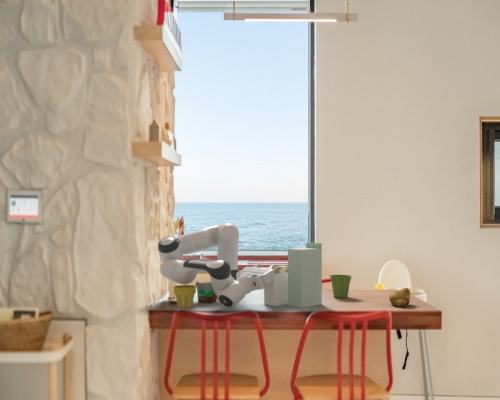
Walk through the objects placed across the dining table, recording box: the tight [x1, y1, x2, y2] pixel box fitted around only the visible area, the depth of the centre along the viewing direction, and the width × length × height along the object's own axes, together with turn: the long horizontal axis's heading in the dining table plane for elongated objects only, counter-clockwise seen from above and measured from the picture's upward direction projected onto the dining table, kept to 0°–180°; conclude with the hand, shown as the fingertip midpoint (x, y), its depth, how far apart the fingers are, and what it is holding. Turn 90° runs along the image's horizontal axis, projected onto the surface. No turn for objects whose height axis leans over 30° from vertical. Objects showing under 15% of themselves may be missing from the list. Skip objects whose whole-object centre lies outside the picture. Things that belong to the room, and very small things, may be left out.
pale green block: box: [287, 242, 323, 309], centre depth 248 cm, size 14×9×30 cm, turn 130°
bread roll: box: [388, 287, 411, 307], centre depth 246 cm, size 13×10×8 cm
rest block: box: [263, 272, 288, 307], centre depth 251 cm, size 12×7×15 cm, turn 130°
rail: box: [263, 264, 288, 274], centre depth 251 cm, size 20×3×3 cm, turn 130°
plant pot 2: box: [329, 274, 353, 299], centre depth 271 cm, size 12×12×11 cm
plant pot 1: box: [173, 284, 197, 309], centre depth 243 cm, size 10×10×10 cm
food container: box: [195, 281, 217, 304], centre depth 254 cm, size 12×6×10 cm, turn 70°
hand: (267, 265), depth 247 cm, fingers open, 8 cm apart
